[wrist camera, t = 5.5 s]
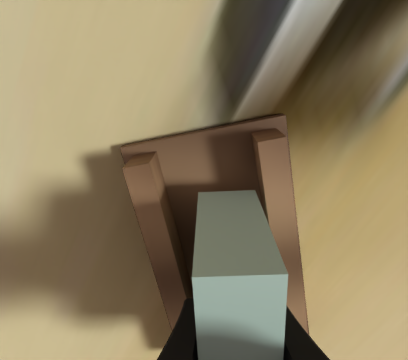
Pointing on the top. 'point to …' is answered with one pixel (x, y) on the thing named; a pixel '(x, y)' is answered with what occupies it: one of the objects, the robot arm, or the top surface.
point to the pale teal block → (237, 280)
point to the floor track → (212, 182)
